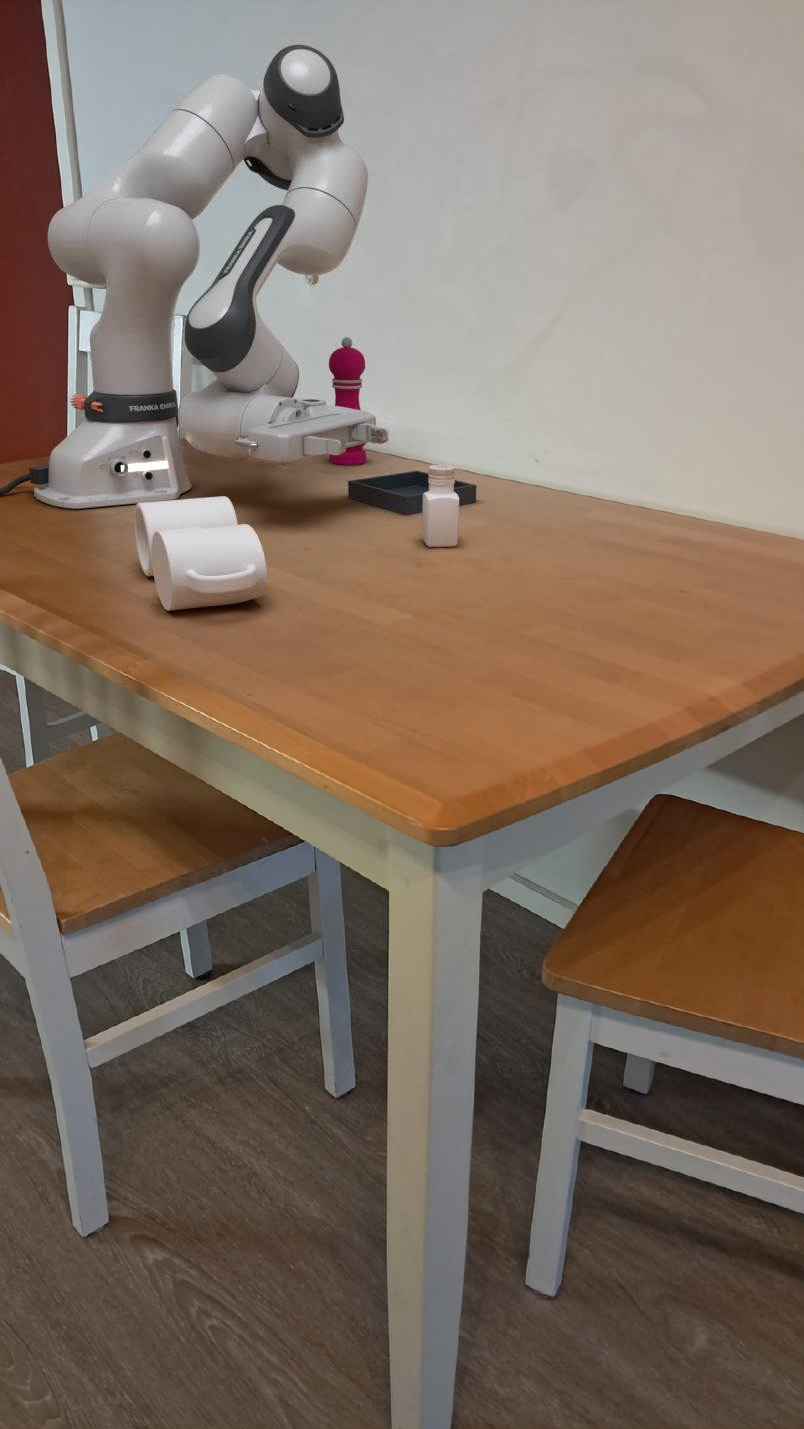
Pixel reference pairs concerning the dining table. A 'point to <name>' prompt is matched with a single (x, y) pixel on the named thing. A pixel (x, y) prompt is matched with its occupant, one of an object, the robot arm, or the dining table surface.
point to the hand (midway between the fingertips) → (364, 441)
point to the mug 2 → (208, 566)
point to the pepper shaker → (440, 508)
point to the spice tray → (402, 491)
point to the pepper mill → (347, 393)
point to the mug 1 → (177, 520)
